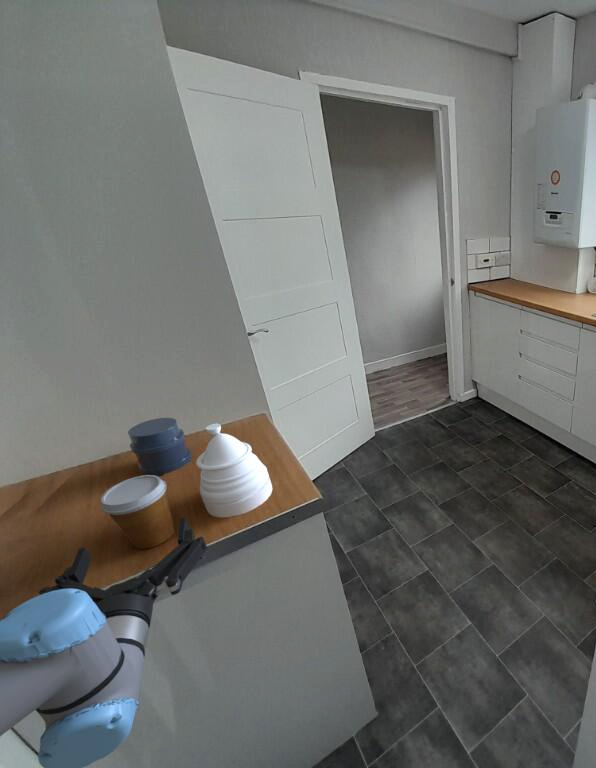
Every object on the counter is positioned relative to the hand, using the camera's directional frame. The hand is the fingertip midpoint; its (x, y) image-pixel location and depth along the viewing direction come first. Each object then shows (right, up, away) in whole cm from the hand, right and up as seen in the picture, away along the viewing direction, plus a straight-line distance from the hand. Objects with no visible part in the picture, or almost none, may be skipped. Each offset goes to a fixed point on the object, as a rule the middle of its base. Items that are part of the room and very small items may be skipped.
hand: (137, 537), depth 73 cm
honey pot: (+5, +1, +20) cm, 21 cm away
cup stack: (-21, +7, +31) cm, 38 cm away
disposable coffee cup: (-5, -3, +9) cm, 11 cm away
